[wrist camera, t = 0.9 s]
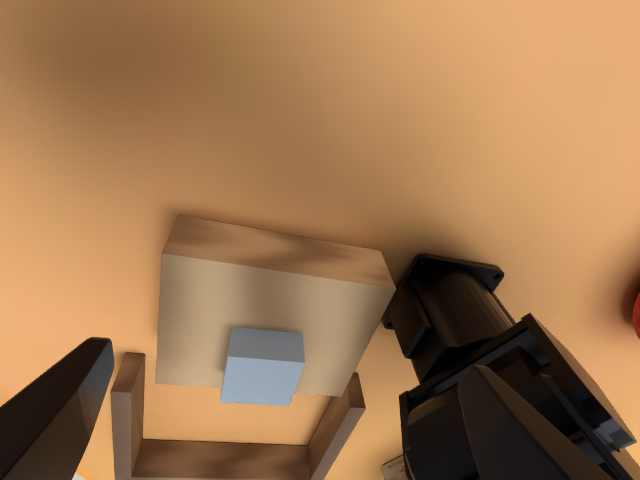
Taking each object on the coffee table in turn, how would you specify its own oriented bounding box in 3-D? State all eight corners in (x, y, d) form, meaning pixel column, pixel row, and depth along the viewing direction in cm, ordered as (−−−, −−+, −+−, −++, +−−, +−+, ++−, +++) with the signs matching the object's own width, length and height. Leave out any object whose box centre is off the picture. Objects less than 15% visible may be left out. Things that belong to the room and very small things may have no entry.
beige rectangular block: (378, 246, 23) (396, 288, 19) (333, 349, 28) (341, 396, 24) (181, 211, 20) (161, 253, 17) (171, 332, 25) (155, 383, 22)
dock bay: (358, 373, 29) (365, 408, 27) (316, 452, 36) (319, 486, 33) (126, 352, 25) (110, 391, 22) (127, 445, 31) (115, 483, 29)
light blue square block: (302, 333, 21) (304, 362, 19) (288, 376, 23) (288, 405, 21) (232, 326, 20) (228, 356, 18) (224, 371, 22) (219, 402, 20)
